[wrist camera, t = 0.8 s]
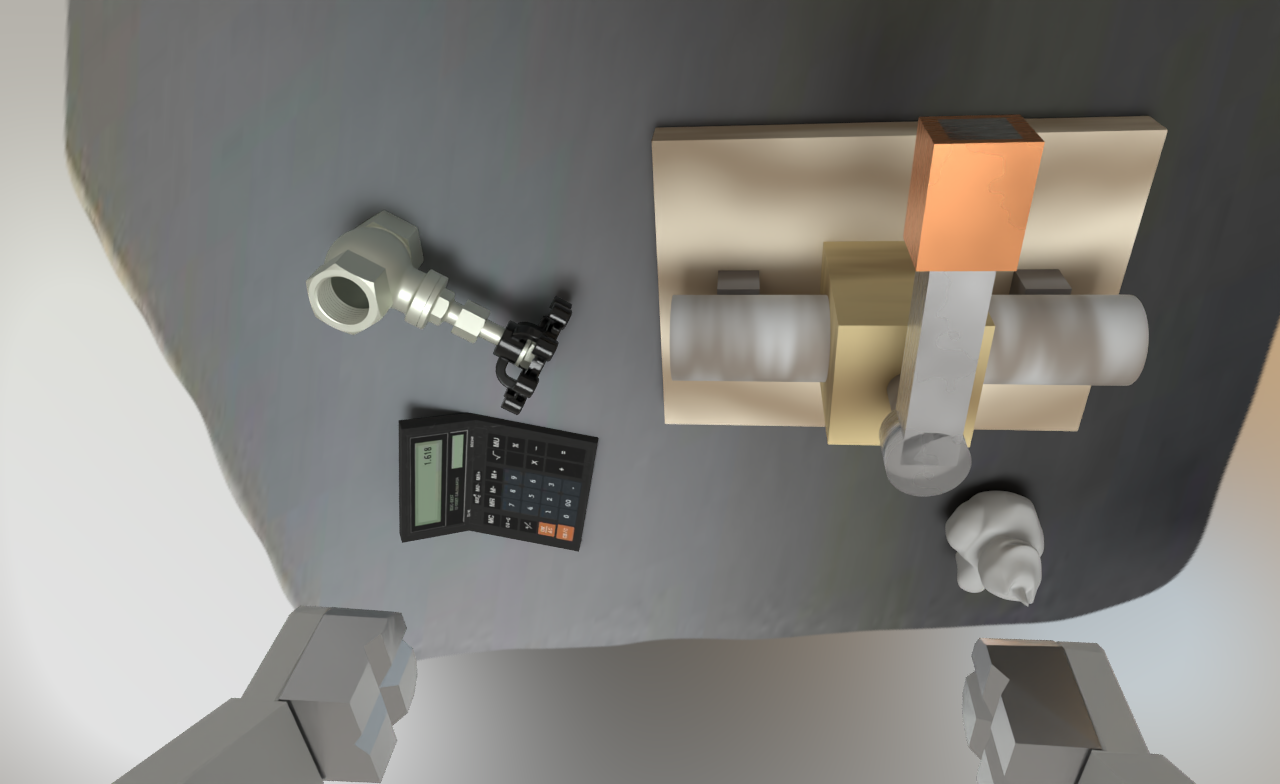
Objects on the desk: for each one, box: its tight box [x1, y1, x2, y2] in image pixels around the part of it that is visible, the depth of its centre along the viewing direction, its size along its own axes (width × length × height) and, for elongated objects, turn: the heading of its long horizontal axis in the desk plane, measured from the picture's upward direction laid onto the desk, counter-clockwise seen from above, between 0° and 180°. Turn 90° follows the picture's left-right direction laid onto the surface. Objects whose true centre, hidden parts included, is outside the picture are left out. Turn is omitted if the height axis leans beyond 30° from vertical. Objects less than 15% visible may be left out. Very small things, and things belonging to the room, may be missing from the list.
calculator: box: [399, 413, 598, 551], centre depth 52 cm, size 9×12×3 cm
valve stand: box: [652, 116, 1168, 447], centre depth 38 cm, size 16×22×13 cm
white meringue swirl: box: [945, 491, 1044, 606], centre depth 48 cm, size 5×7×8 cm
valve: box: [306, 210, 572, 415], centre depth 43 cm, size 7×7×12 cm
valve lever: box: [879, 115, 1045, 496], centre depth 29 cm, size 14×3×3 cm, turn 3°
